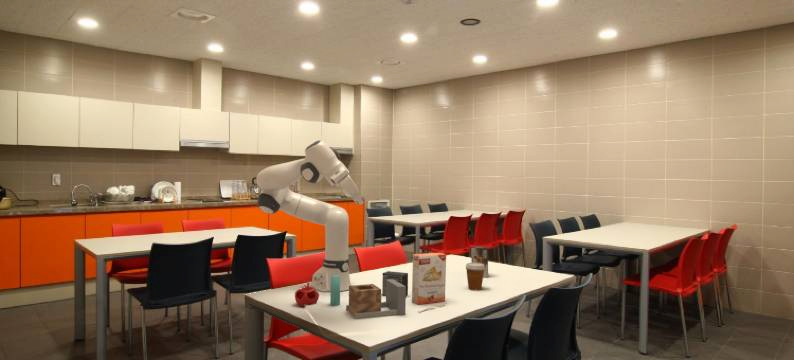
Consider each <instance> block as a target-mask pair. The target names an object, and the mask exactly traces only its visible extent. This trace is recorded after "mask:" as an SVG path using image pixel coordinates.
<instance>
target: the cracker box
mask: <svg viewBox="0 0 794 360" xmlns="http://www.w3.org/2000/svg"><path fill="white" fill-rule="evenodd" d="M446 272H447V254H445V253H442V252H429V253H427V252H426V253H414V254H412V273H411V274H412V275H411V276H412V280H411V281H412V282H411V285H412V287H411V302H412V303H414V304H417V305H425V304H426V305H427V304H434V303H441V302H442V301H443V302H446V276H447V275H446V274H447V273H446ZM443 302H442V303H443Z"/></svg>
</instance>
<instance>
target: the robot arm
mask: <svg viewBox="0 0 794 360" xmlns="http://www.w3.org/2000/svg"><path fill="white" fill-rule="evenodd" d="M304 153H305V154H304V155H305V157H303V158H300V159H296V160H293V161H287V162H284V163H283V162H282V163H280V164H274V165H270V166H268V167H265V168H264V169H261V171H259V172H258V174H257V176H256V184H257V186H258V187H259V189H261V190H260V193H259V195H258V197H257V201H256V205H257V207H258V209H259V210H260V211H262V212H264V213H266V214H270V215H271V214H272V215H273V214H276V213H277V212H278V211H279V210H280V211H281V212H283V213H285V214H287V215H290V216H292V217H295V218H297V219H301V220H303V221H306V222H309V223H313V224H317V225H320V226H325V227H324V230H325V233H324V234H325V236H324V239H325V244H324V245H325V247H324V248H325V250H324V251H325V252H324V253H325V254H324V255H325V256H324V257H325V258H324V259H321V263H322V266H321V267H320V268H318V270H316V271H315V272H314V273H313V274H312V278H311V279H312V280H311V282H308V283H309V287H310V286H311V287H312V285H313V287H315V288H313V287H312V288H311V289H314V290H316V291H318V292H323V293H324V292H330V291H331V275H340V292H344V291H349V286H351V285H352V283H351V276H350V269H349V268H350V258H349V233H350V231H349V228H350V227H349V223H350V220H349V219H350V218H349V214H348V212H347V210H346V209H345V208H343V207H341V206H338V205H335V204H332V203H329V202H325V201H321V200H319V199H315V198H313V197H310V196H307V195H304V194H301V193H298V192H294V191H292V190H291V189H290V187H293V185H294V184H295V183H296V182H298V181H299V180H300V179H301V178H303V179H304V180H305V181H306V182H307V183H310V184H316V183H318V182H320V181H321V180H322V179H324V178H325V180H326V181H327V182H328V183H329V184H330V186H331V187H333V186H335V187H336V188H339V189H340V190H341V191H342V193H343V194H344V195H345V196H346V197H347V198H350V199H352V200H353V202H355V204H356V205H357V206H358V205H363V204H364V203H365V201H364V200H363V199H362V197H361V195H360V194H359V192H360V191H359V188H358V186H357V185H356V183H355V182H354V180H353V179H352V177H351V176H350V175H349V174H350V171H349V169H348V168H347V167H346V165H345V164H344V163H343V162H342V161H341V155H340V153H339V152H338V150H336V149H335V148H333V147H331V146H329V145H327V143H326V142H324V141H322V140H321V139H320V140H317V141H314V142H313V143H311V144H310V145H308V146H307V147H306V148H305V149H304Z"/></svg>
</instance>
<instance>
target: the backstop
mask: <svg viewBox="0 0 794 360" xmlns="http://www.w3.org/2000/svg"><path fill="white" fill-rule="evenodd" d="M406 297H407V296H406V286H404V285H402V284H401V283H399V282H397V281H395V280H393V279H388V280H386V296H385V301H381V309H382V308H387V310H386V309H385V310H381V311H374V312H364V313H355V317H354V320H362V319H363V320H365V319H370V318H371V319H372V318H381V317H393V316H405V315H406V304H407V302H406ZM345 311H347V312H349V304H347V305H345Z"/></svg>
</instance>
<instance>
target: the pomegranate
mask: <svg viewBox="0 0 794 360" xmlns="http://www.w3.org/2000/svg"><path fill="white" fill-rule="evenodd" d="M309 283H310V282H306V285H305V284H304V285H303V286H299V289H297V290H296V291H295V292H294V299H295V303H296V304H297V306H299V307H305V306H311V305H315V304H316V305H317V303H318V301H319V297H320V294H319V291H318V290H316V289H313V288H315V287H313V285H312V287H313V288H312V287H311V286H310V287H309Z"/></svg>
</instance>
